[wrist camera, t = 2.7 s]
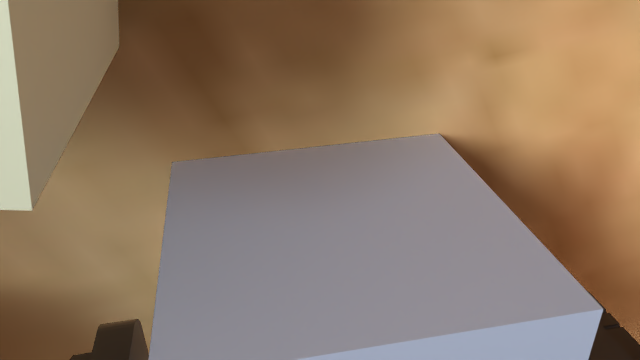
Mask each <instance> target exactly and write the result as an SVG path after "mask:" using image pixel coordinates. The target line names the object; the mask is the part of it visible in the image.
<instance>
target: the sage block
mask: <svg viewBox="0 0 640 360" xmlns="http://www.w3.org/2000/svg"><path fill="white" fill-rule="evenodd" d="M118 48H119V14H118V0H0V210H27V211H32V210H33V208H34V206H35V204H36V202H37V200H38V199H39V197H40V195H41V193H42V191H43V189H44V187H45V185H46V184H47V182H48V180H49V178H50V176H51V174H52V172H53V170H54V169H55V167H56V165H57V163H58V161H59V159H60V157H61V155H62V154H63V152H64V150H65V148H66V146H67V144H68V142H69V140H70V138H71V137H72V135H73V133H74V131H75V129H76V127H77V125H78V123H79V122H80V120H81V118H82V116H83V114H84V112H85V110H86V108H87V107H88V105H89V103H90V101H91V99H92V97H93V95H94V93H95V92H96V90H97V88H98V86H99V84H100V82H101V80H102V78H103V77H104V75H105V73H106V71H107V69H108V67H109V65H110V63H111V62H112V60H113V58H114V56H115V54H116V52H117V50H118Z"/></svg>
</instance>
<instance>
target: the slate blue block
mask: <svg viewBox="0 0 640 360" xmlns="http://www.w3.org/2000/svg"><path fill="white" fill-rule="evenodd" d="M602 312H603V308H602V307H601V306H600V305H599V304H598V303H597V301H596V300H595V299H594V298H593V297H592V296H591V295H590V294H589V293H588V292H587V291H586V290H585V289H584V288H583V287H582V285H581V284H580V283H579V282H578V281H577V280H576V279H575V278H574V277H573V276H572V275H571V274H570V273H569V272H568V270H567V269H566V268H565V267H564V266H563V265H562V264H561V263H560V262H559V261H558V260H557V259H556V258H555V257H554V256H553V254H552V253H551V252H550V251H549V250H548V249H547V248H546V247H545V246H544V245H543V244H542V243H541V242H540V241H539V240H538V238H537V237H536V236H535V235H534V234H533V233H532V232H531V231H530V230H529V229H528V228H527V227H526V226H525V225H524V223H523V222H522V221H521V220H520V219H519V218H518V217H517V216H516V215H515V214H514V213H513V212H512V211H511V210H510V209H509V207H508V206H507V205H506V204H505V203H504V202H503V201H502V200H501V199H500V198H499V197H498V196H497V195H496V194H495V193H494V191H493V190H492V189H491V188H490V187H489V186H488V185H487V184H486V183H485V182H484V181H483V180H482V179H481V178H480V177H479V175H478V174H477V173H476V172H475V171H474V170H473V169H472V168H471V167H470V166H469V165H468V164H467V163H466V162H465V160H464V159H463V158H462V157H461V156H460V155H459V154H458V153H457V152H456V151H455V150H454V149H453V148H452V147H451V146H450V144H449V143H448V142H447V141H446V140H445V139H444V138H443V137H442V136H441V135H440V134H430V135H421V136H412V137H402V138H393V139H383V140H374V141H365V142H355V143H346V144H337V145H327V146H318V147H308V148H299V149H290V150H280V151H271V152H262V153H252V154H243V155H233V156H224V157H215V158H205V159H196V160H187V161H177V162H172V167H171V175H170V183H169V192H168V200H167V208H166V217H165V225H164V234H163V242H162V250H161V259H160V267H159V275H158V284H157V292H156V300H155V309H154V317H153V326H152V334H151V342H150V351H149V359H148V360H588V359H589V355H590V352H591V349H592V345H593V342H594V339H595V336H596V332H597V329H598V326H599V322H600V319H601V316H602Z"/></svg>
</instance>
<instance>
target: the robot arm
mask: <svg viewBox="0 0 640 360" xmlns="http://www.w3.org/2000/svg"><path fill="white" fill-rule="evenodd" d="M587 292H588V291H587ZM588 293H589V294H590V295H591V293H590V292H588ZM591 296H592V295H591ZM592 297H593V296H592ZM593 298H594V297H593ZM594 299H595V298H594ZM595 300H596V299H595ZM596 301H597V300H596ZM597 303H598V304H599V305H600V306H601V307H602V308H603V312H602V316H601V319H600V322H599V326H598V329H597V332H596V336H595V339H594V342H593V345H592V349H591V352H590V355H589V359H588V360H640V345H639V344H638V343H637V341H636V340H635V339H634V338H633V337H632V336H631V335H630V334H629V333H628V332H627V331H626V330H625V329H624V328H623V327H620V326H619V323H618V322H617V321H616V320H615V319H614V317H613V316H612V315H611V314H610V313H606V309H605V308H604V307H603V306H602V305H601V304H600V303H599V302H598V301H597ZM148 359H149V353H148V349H147V346H146V342H145V338H144V334H143V330H142V326H141V323H140V321H139V320H138V319H134V320H127V321H121V322H114V323H107V324H101V325H100V326H99V327H98V330H97V334H96V338H95V342H94V346H93V350H92V352H91V353H84V354H78V355H73V356H72V358H71V359H70V360H148Z"/></svg>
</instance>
